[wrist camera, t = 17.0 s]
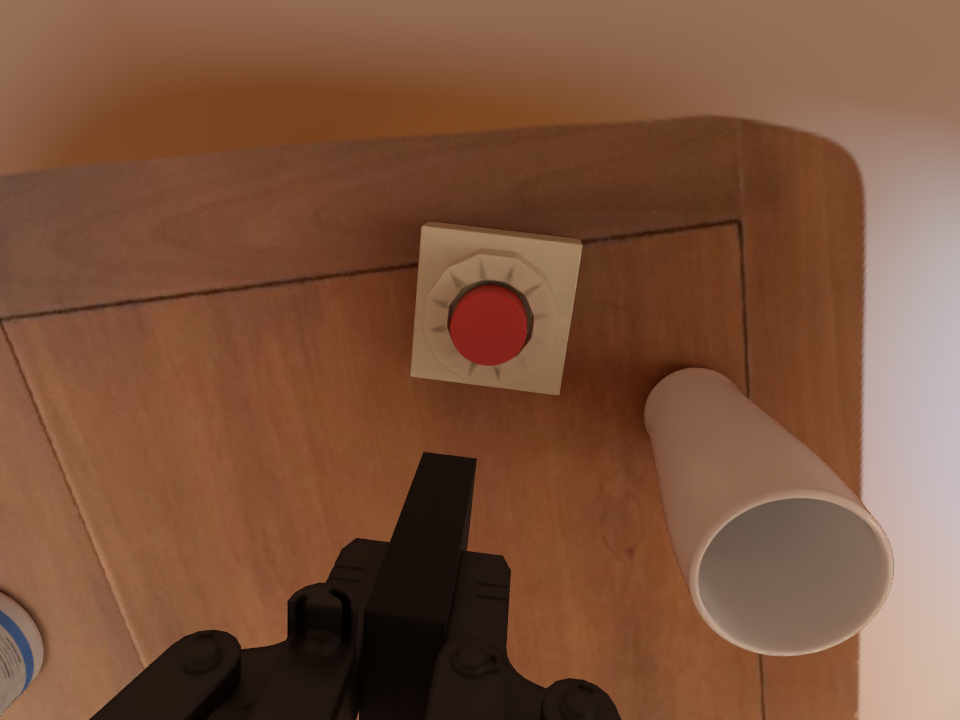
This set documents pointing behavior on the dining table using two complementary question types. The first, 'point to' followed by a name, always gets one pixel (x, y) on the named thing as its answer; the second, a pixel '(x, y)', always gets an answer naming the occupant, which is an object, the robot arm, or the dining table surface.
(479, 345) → the button
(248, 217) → the dining table surface
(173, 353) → the dining table surface
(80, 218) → the dining table surface
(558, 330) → the button box
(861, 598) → the drinking glass
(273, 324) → the dining table surface
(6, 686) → the supplement tub
